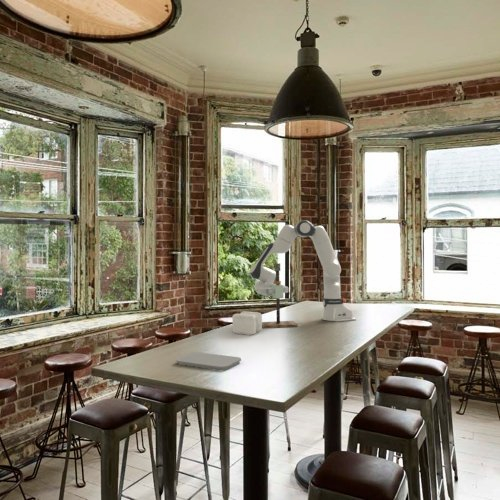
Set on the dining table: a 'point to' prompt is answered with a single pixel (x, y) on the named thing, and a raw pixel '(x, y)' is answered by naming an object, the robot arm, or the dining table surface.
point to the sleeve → (277, 291)
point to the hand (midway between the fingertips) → (278, 291)
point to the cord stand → (278, 309)
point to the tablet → (209, 361)
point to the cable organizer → (247, 322)
